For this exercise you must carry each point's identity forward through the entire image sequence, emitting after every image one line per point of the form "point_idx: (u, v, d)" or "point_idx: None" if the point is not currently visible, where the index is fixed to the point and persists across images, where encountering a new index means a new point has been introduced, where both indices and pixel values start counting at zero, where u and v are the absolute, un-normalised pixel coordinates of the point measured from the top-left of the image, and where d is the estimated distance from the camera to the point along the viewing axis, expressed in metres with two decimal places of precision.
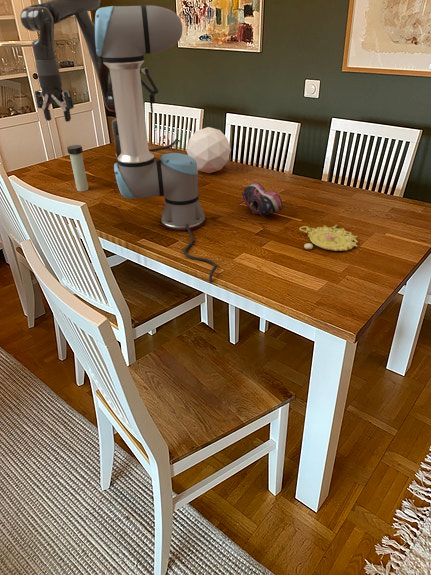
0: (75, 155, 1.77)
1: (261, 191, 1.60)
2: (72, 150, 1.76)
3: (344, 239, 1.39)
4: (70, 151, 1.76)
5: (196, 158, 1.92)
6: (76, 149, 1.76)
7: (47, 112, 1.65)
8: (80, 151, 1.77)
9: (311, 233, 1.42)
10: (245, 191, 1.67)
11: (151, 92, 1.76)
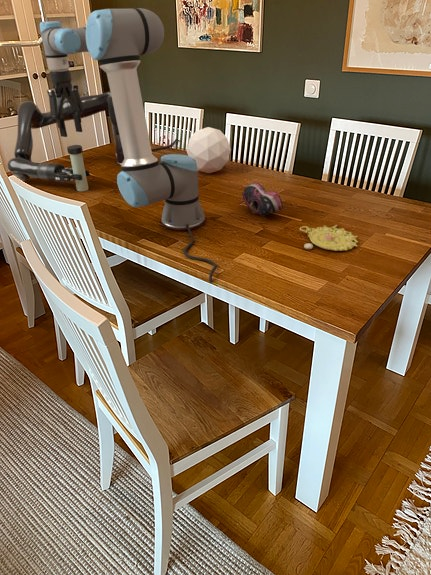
0: (75, 155, 1.77)
1: (261, 191, 1.60)
2: (72, 150, 1.76)
3: (344, 239, 1.39)
4: (70, 151, 1.76)
5: (196, 158, 1.92)
6: (76, 149, 1.76)
7: None
8: (80, 151, 1.77)
9: (311, 233, 1.42)
10: (245, 191, 1.67)
11: None
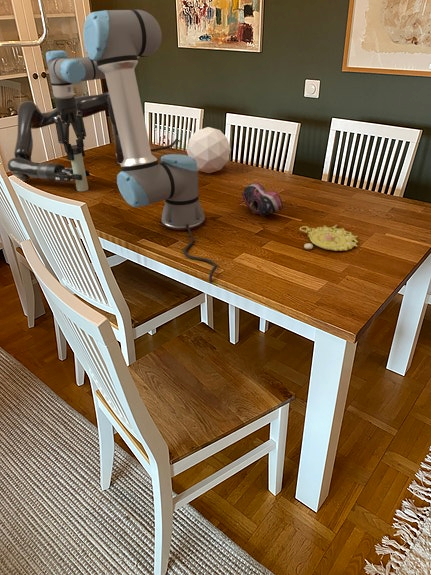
0: (75, 155, 1.77)
1: (261, 191, 1.60)
2: (72, 150, 1.76)
3: (344, 239, 1.39)
4: None
5: (196, 158, 1.92)
6: (76, 149, 1.76)
7: None
8: (80, 151, 1.77)
9: (311, 233, 1.42)
10: (245, 191, 1.67)
11: None
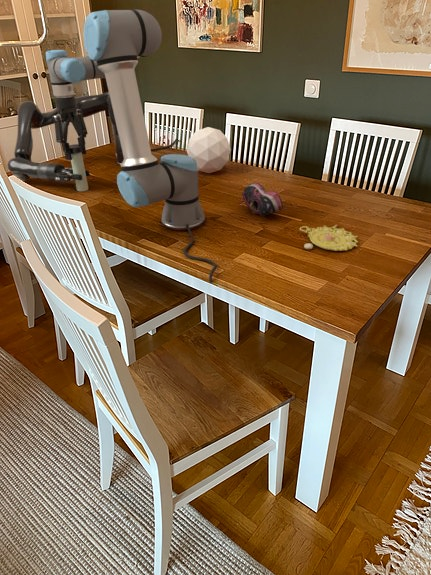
0: (75, 155, 1.77)
1: (261, 191, 1.60)
2: (80, 148, 1.77)
3: (344, 239, 1.39)
4: (78, 150, 1.76)
5: (196, 158, 1.92)
6: (81, 146, 1.78)
7: None
8: None
9: (311, 233, 1.42)
10: (245, 191, 1.67)
11: None
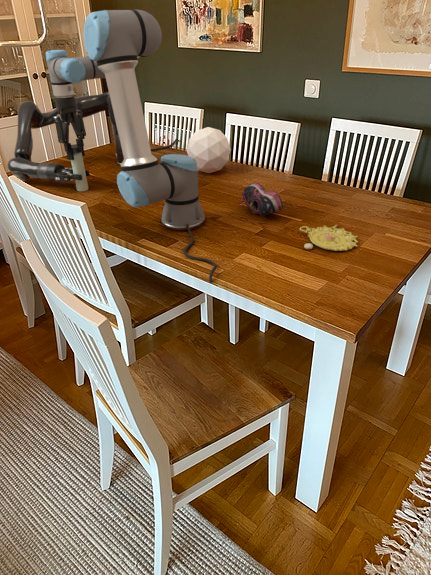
0: (75, 155, 1.77)
1: (261, 191, 1.60)
2: (80, 148, 1.77)
3: (344, 239, 1.39)
4: (78, 150, 1.76)
5: (196, 158, 1.92)
6: (81, 146, 1.78)
7: None
8: None
9: (311, 233, 1.42)
10: (245, 191, 1.67)
11: None
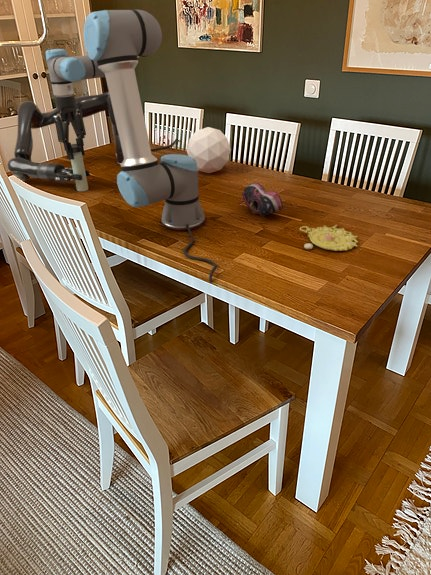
0: (75, 155, 1.77)
1: (261, 191, 1.60)
2: None
3: (344, 239, 1.39)
4: None
5: (196, 158, 1.92)
6: None
7: None
8: None
9: (311, 233, 1.42)
10: (245, 191, 1.67)
11: None
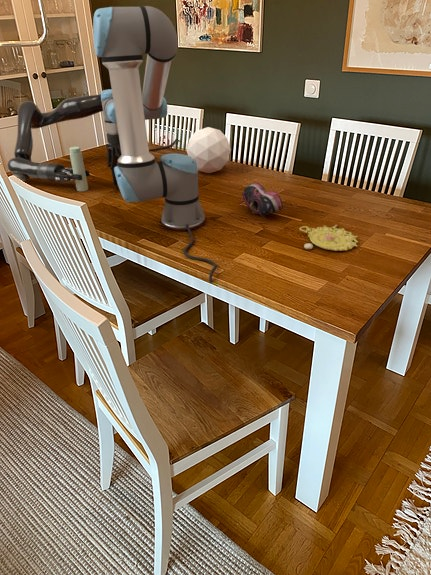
0: (75, 155, 1.77)
1: (261, 191, 1.60)
2: None
3: (344, 239, 1.39)
4: None
5: (196, 158, 1.92)
6: None
7: None
8: (117, 187, 1.86)
9: (311, 233, 1.42)
10: (245, 191, 1.67)
11: None
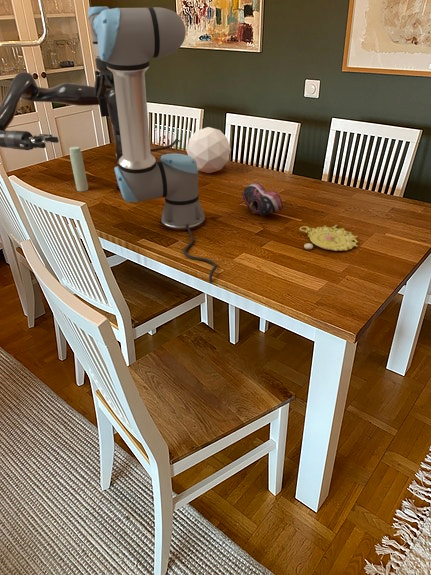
0: (75, 155, 1.77)
1: (261, 191, 1.60)
2: None
3: (344, 239, 1.39)
4: None
5: (196, 158, 1.92)
6: None
7: None
8: (117, 187, 1.86)
9: (311, 233, 1.42)
10: (245, 191, 1.67)
11: None
